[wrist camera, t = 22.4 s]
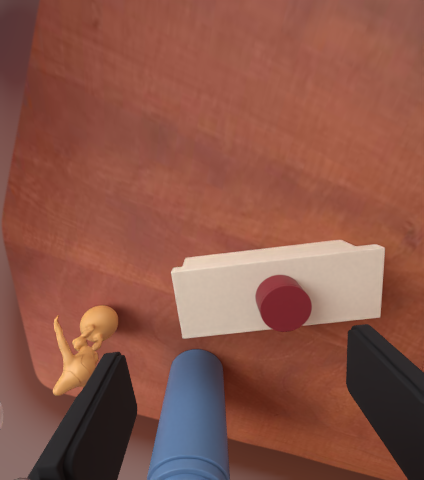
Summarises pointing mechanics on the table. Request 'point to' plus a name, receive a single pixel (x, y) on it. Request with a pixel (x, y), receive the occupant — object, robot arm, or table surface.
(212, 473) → the bottle
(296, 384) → the table surface
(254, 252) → the cream lidded box
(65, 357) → the figurine
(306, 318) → the cap
